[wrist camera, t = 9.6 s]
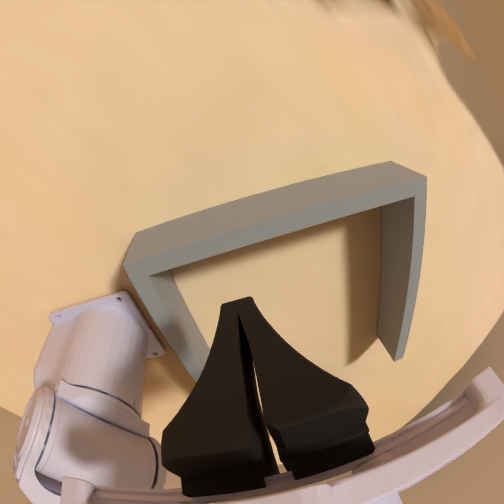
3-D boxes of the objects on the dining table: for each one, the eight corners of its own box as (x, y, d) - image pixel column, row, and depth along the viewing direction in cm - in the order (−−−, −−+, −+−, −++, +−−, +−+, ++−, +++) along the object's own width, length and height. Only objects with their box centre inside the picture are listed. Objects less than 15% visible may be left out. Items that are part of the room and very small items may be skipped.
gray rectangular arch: (219, 386, 30) (224, 419, 26) (135, 232, 19) (122, 265, 16) (384, 331, 30) (402, 357, 27) (390, 161, 20) (426, 176, 16)
